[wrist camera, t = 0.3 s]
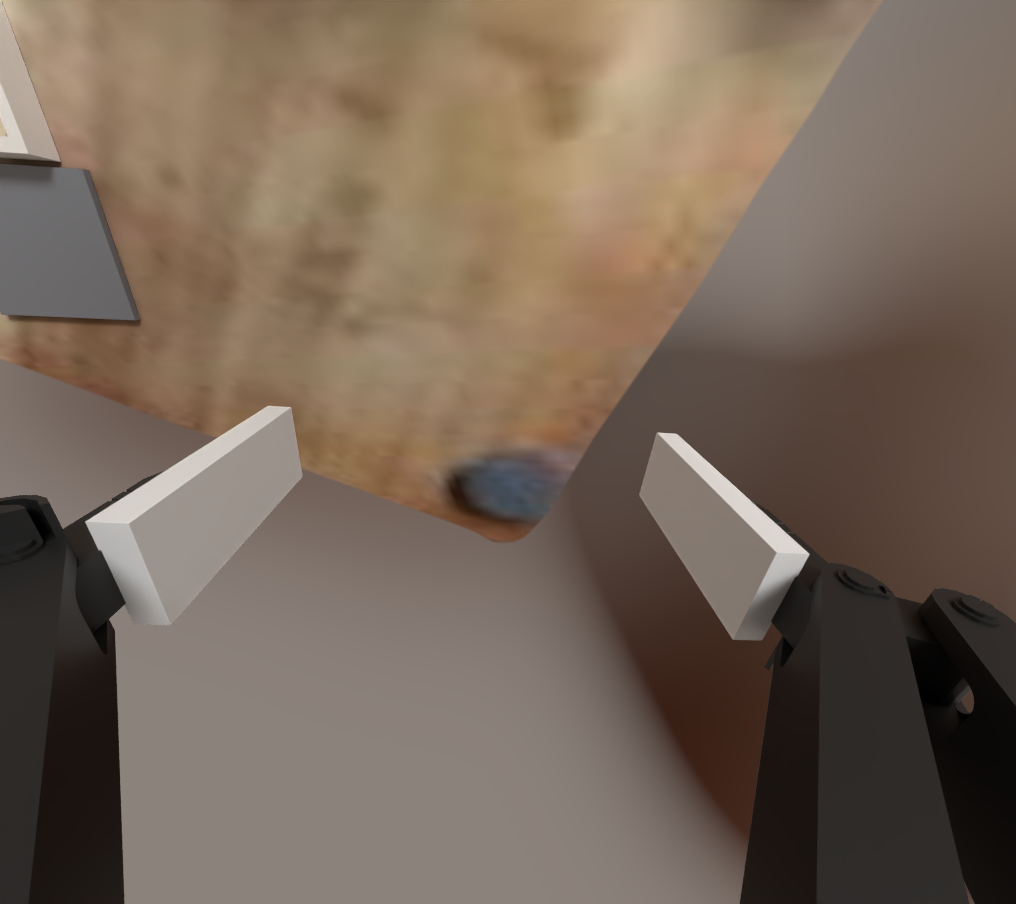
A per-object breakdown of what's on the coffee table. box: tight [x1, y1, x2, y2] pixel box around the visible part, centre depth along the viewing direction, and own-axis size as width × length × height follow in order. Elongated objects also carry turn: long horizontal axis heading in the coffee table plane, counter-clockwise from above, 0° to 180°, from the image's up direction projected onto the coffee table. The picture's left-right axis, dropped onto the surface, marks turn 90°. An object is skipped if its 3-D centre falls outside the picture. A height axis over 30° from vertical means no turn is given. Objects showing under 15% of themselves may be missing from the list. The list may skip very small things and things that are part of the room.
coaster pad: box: [0, 164, 140, 320], centre depth 34 cm, size 12×12×1 cm
